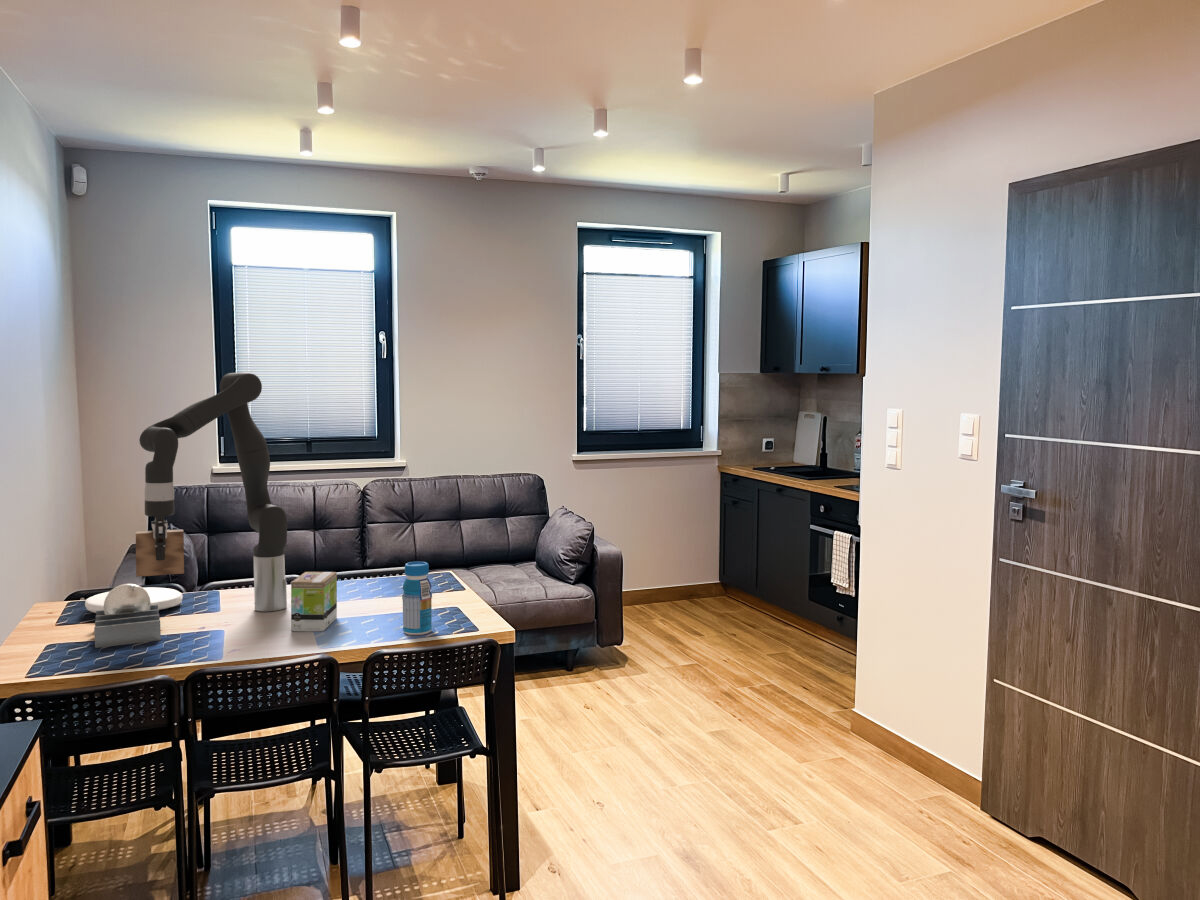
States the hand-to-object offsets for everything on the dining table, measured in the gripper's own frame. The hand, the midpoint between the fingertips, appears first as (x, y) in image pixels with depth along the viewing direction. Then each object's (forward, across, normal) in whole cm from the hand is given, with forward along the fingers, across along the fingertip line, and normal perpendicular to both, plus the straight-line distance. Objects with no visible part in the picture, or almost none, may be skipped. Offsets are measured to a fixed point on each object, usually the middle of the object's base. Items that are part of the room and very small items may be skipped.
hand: (160, 558), depth 253 cm
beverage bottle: (+21, -29, -66) cm, 75 cm away
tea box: (+22, -8, -41) cm, 47 cm away
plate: (+22, +36, +6) cm, 43 cm away
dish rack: (+22, +5, +8) cm, 24 cm away
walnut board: (+4, 0, 0) cm, 4 cm away
